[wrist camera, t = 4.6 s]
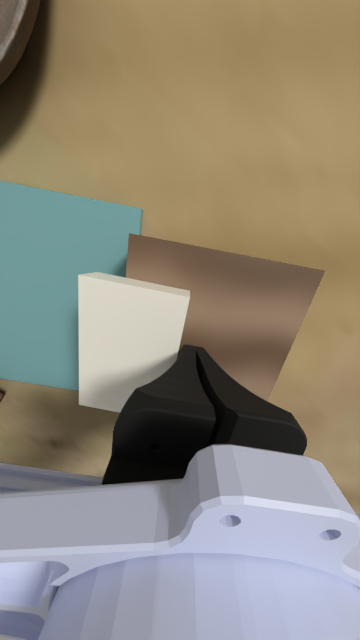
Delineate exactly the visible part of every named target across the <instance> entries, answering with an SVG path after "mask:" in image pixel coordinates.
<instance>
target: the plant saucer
mask: <svg viewBox="0 0 360 640" xmlns="http://www.w3.org/2000/svg"><path fill="white" fill-rule="evenodd" d="M39 5H40V0H0V85H1V84H2V83H3V82H4V81H5V80H6V79H7V78H8V77H9V75H10V74H11V73H12V71H13V70H14V68H15V67H16V65H17V64H18V62H19V60H20V59H21V57H22V55H23V53H24V50H25V48H26V46H27V43H28V41H29V39H30V36H31V33H32V30H33V28H34V24H35V21H36V17H37V13H38V9H39Z"/></svg>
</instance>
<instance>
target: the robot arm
mask: <svg viewBox="0 0 360 640" xmlns="http://www.w3.org/2000/svg"><path fill="white" fill-rule="evenodd" d="M306 446H307V438H306V435H305V433H304V431H303V430H302V428H301V427H300V425H299V424H298V422H297V421H296V419H295V418H294V416H293V415H292V414H291V413H290V412H287V411H285V410H283V409H281V408H279V407H277V406H275V405H273V404H271V403H269V402H267V401H266V400H264V399H262V398H260V397H259V396H257V395H255V394H254V393H252V392H250V391H249V390H248V389H246V388H245V387H243V386H242V385H240V384H239V383H238V382H236V381H235V380H234V379H233V378H232V377H230V376H229V375H228V374H227V373H226V372H225V371H224V370H223V369H222V368H221V367H220V366H219V365H218V364H217V363H216V362H215V361H214V360H213V358H212V357H211V356H210V355H209V354H208V352H207V351H206V350H205V349H204V348H203V347H198V346H192V345H187V344H185V345H183V349H182V352H181V354H180V355H179V357H178V359H177V360H176V361H175V362H174V364H173V365H172V366H171V367H170V368H169V369H168V370H167V371H166V372H165V373H163V374H162V375H161V376H160V377H158V378H157V379H155V380H153V381H152V382H150V383H148V384H146V385H143V386H141V387H138V388H136V389H135V390H134V392H133V393H132V394H131V396H130V397H129V398H128V400H127V401H126V403H125V405H124V406H123V408H122V410H121V412H120V414H119V416H118V419H117V421H116V424H115V427H114V431H113V443H112V456H111V459H110V461H109V464H108V467H107V469H106V472H105V475H104V478H102V477H95V476H89V475H82V474H75V473H68V472H61V471H54V470H47V469H40V468H33V467H26V466H20V465H13V464H6V463H0V636H3V637H7V638H12V639H17V640H360V515H358V514H355V512H354V511H353V509H352V508H351V506H350V505H349V503H348V502H347V500H346V499H345V497H344V496H343V494H342V493H341V491H340V490H339V488H338V487H337V485H336V484H335V482H334V481H333V479H332V478H331V476H330V475H329V473H328V472H327V470H326V469H325V467H324V466H323V464H322V463H321V462H319V461H316V460H314V459H311V458H308V457H306V456H303V454H304V451H305V449H306Z"/></svg>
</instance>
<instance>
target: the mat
mask: <svg viewBox="0 0 360 640" xmlns="http://www.w3.org/2000/svg"><path fill="white" fill-rule="evenodd" d="M142 213H143V210H142V209H140V208H135V207H130V206H125V205H120V204H114V203H109V202H104V201H99V200H94V199H89V198H84V197H79V196H74V195H69V194H64V193H59V192H54V191H49V190H44V189H39V188H34V187H28V186H23V185H18V184H13V183H8V182H3V181H0V378H1V379H7V380H13V381H19V382H26V383H32V384H38V385H45V386H51V387H57V388H64V389H70V390H76V391H79V313H78V275H80V274H87V273H93V272H100V273H105V274H110V275H115V276H120V277H125V278H126V267H127V253H128V239H129V233H130V234H136V235H140V234H141V223H142Z"/></svg>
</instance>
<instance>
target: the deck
mask: <svg viewBox="0 0 360 640" xmlns="http://www.w3.org/2000/svg"><path fill="white" fill-rule="evenodd" d="M324 272H325V271H323V270H318V269H313V268H307V267H302V266H297V265H292V264H287V263H281V262H276V261H271V260H266V259H261V258H255V257H250V256H245V255H240V254H235V253H229V252H224V251H219V250H214V249H208V248H203V247H198V246H193V245H188V244H182V243H177V242H172V241H167V240H162V239H156V238H151V237H146V236H141V235H136V234H130V233H129V239H128V253H127V267H126V278H130V279H135V280H140V281H145V282H150V283H155V284H160V285H165V286H169V287H174V288H179V289H184V290H189V291H190V300H189V304H188V309H187V314H186V318H185V323H184V328H183V332H182V337H181V342H180V346H179V351H178V356H177V359H178V357H179V355H180V354H181V352H182V349H183V345H185V344H187V345H192V346H198V347H203V348H204V349H205V350H206V351H207V352H208V354H209V355H210V356H211V357H212V358H213V360H214V361H215V362H216V363H217V364H218V365H219V366H220V367H221V368H222V369H223V370H224V371H225V372H226V373H227V374H228V375H229V376H230V377H232V378H233V379H234V380H235V381H236V382H238V383H239V384H240V385H242V386H243V387H245V388H246V389H248V390H249V391H250V392H252V393H254V394H255V395H257V396H259V397H260V398H262V399H264V400H266V401H267V400H268V398H269V396H270V393H271V391H272V389H273V387H274V384H275V382H276V380H277V378H278V375H279V373H280V371H281V369H282V366H283V364H284V362H285V360H286V358H287V355H288V353H289V351H290V349H291V346H292V344H293V342H294V340H295V337H296V335H297V333H298V331H299V328H300V326H301V324H302V322H303V319H304V317H305V315H306V313H307V310H308V308H309V306H310V304H311V301H312V299H313V297H314V295H315V292H316V290H317V288H318V286H319V283H320V281H321V279H322V277H323V274H324ZM117 413H119V412H117Z"/></svg>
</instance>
